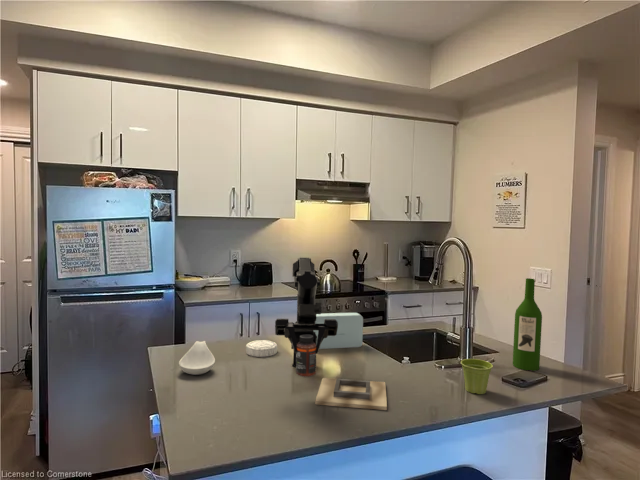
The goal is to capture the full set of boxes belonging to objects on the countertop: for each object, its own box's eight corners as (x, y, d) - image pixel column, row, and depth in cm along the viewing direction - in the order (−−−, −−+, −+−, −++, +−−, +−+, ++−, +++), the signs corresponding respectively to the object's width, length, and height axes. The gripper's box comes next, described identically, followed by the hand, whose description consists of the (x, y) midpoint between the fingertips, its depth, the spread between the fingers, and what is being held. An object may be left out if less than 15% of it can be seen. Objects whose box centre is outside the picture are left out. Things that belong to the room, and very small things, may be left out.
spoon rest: (214, 377, 139) (214, 356, 139) (176, 379, 137) (176, 357, 137) (216, 354, 163) (216, 336, 162) (184, 356, 160) (184, 337, 160)
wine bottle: (513, 368, 155) (517, 279, 154) (512, 361, 164) (516, 276, 162) (540, 372, 152) (545, 281, 150) (538, 364, 160) (542, 278, 159)
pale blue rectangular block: (307, 350, 171) (308, 317, 170) (304, 345, 177) (305, 313, 176) (362, 347, 176) (363, 315, 176) (358, 343, 182) (359, 312, 181)
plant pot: (476, 399, 128) (477, 370, 127) (453, 387, 136) (454, 360, 135) (498, 393, 132) (499, 366, 131) (474, 383, 140) (475, 357, 140)
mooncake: (266, 359, 159) (266, 349, 159) (239, 354, 164) (239, 345, 164) (282, 350, 170) (282, 341, 170) (257, 346, 175) (257, 337, 175)
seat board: (315, 404, 121) (315, 395, 121) (322, 380, 139) (322, 373, 139) (386, 410, 119) (387, 401, 118) (385, 385, 136) (385, 377, 136)
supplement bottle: (318, 371, 128) (319, 334, 128) (312, 378, 123) (313, 339, 122) (299, 369, 130) (300, 332, 129) (292, 375, 124) (293, 337, 124)
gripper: (276, 292, 128) (273, 339, 118) (338, 293, 129) (341, 339, 119) (276, 312, 136) (274, 357, 126) (334, 312, 138) (337, 358, 127)
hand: (306, 353), depth 124 cm, fingers closed on supplement bottle, 6 cm apart
